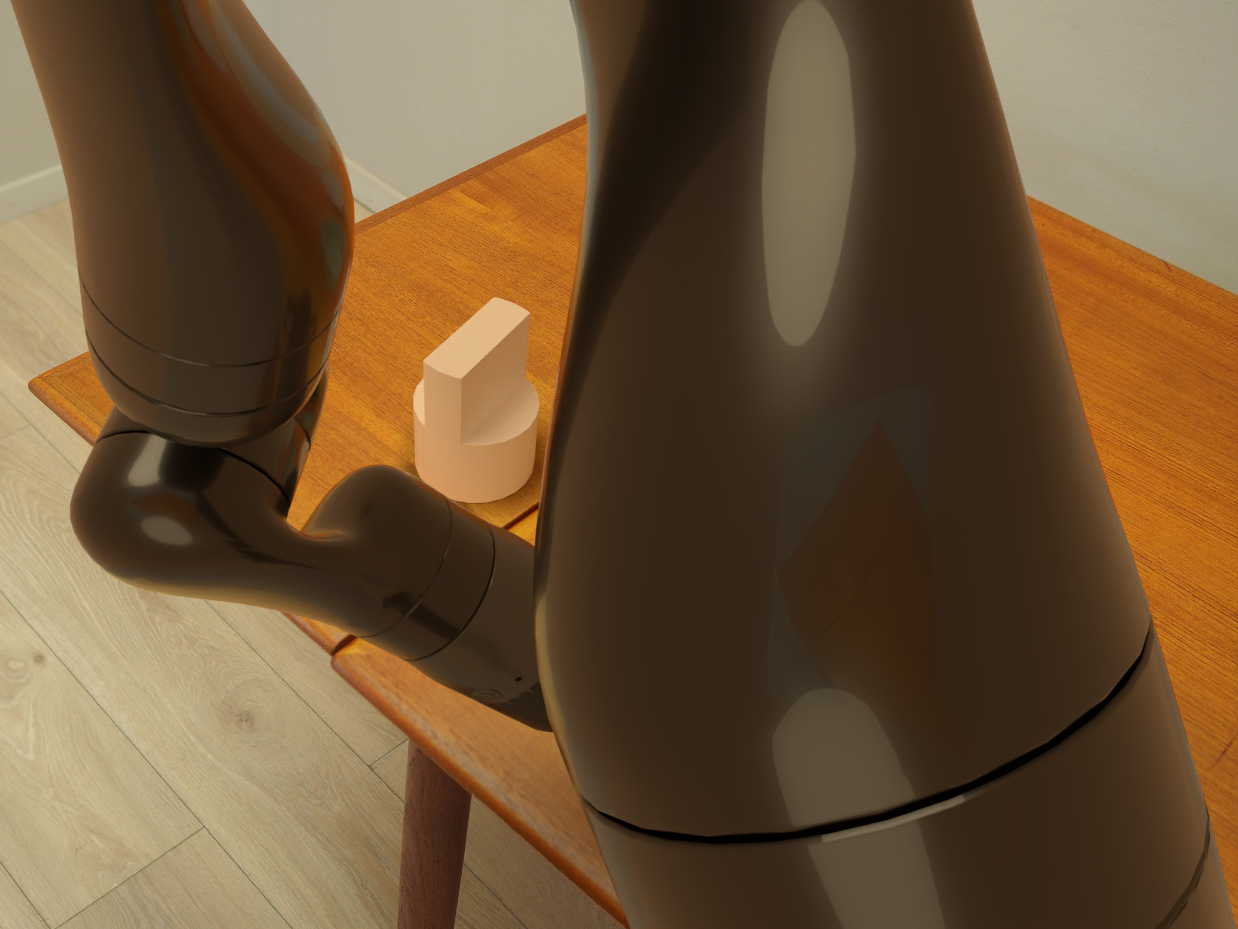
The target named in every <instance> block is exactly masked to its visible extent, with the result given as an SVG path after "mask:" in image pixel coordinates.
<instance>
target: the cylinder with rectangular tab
mask: <svg viewBox="0 0 1238 929" xmlns="http://www.w3.org/2000/svg"><path fill="white" fill-rule="evenodd" d="M530 319H531V313H530V311H528V310H527V309H526V308H523V307H522V306H520V305H518V304H516V303H514V302H512V301H509V300H506V299H503V298H500V297H495V296H494V297H492V298H491V299H490V300H489V301H488V302H487V303H485V305H483V306H482V307H481V308H480V309H479V310H478V311H476V313H475V314H473V315H472V316H471V317H470V318H469V319H468V320H467V321H465V322H464V323H463V324H462V325H461V326H460V327H459V328H458V329H456V331H454V332H453V333H452V334H451V335H449V337H448V338H447V339H446V340H444V341H443V342H442V343H441V344H440V345H438V347H437V348H435V349H434V350H433V351H432V352H431V353H429V355H428V356H427V357H426V358H424V360H422V363H423V364H422V366H423V378H422V379H421V380H420V382H418V384H417V385H416V388H415V390H414V393H413V396H412V402H413V404H412V405H413V434H414V435H413V436H414V464H415V465H414V467H415V469H416V471H417V474H418V476H419V479H420V480H422V481H423V482H425V483H427V484H428V485H430V486H431V487H433V488H435V489H436V490H437V491H439V492H440V493H442V494H443V495H445V496H446V497H448V498H450V499H451V500H453V501H454V502H461V503H468V504H480V503H481V504H483V503H484V504H485V503H492V502H495V501H498V500H503V499H505V498H507V497H509V496H512V495H514V494H515V493H517V492H518V491H519V490H520V489H521V488H522V487H523V486H525V485H526V484H527V482H528V480H529V479H530V477H531V476H532V474H533V470H534V466H535V463H536V462H535V460H536V448H537V437H538V436H537V435H538V425H539V415H540V414H539V413H540V401H539V394H538V392H537V390H536V388H535V387H534V385H533V383H532V382H531V381H530V380H529V379H528V378H527V377H526V375H527V360H528V347H529V333H530Z"/></svg>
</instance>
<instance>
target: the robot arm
mask: <svg viewBox="0 0 1238 929" xmlns="http://www.w3.org/2000/svg"><path fill="white" fill-rule="evenodd" d="M9 1H10V3H11V7H12V10H13V13H14V15H15V19H16V22H17V25H18V28H19V31H20V35H21V37H22V40H23V44H24V46H25V48H26V52H27V56H28V59H29V61H30V64H31V68H32V70H33V73H34V76H35V80H36V83H37V85H38V88H39V91H40V94H41V97H42V101H43V104H44V107H45V111H46V114H47V117H48V121H49V124H50V128H51V130H52V134H53V136H54V141H55V144H56V147H57V152H58V156H59V159H60V165H61V168H62V172H63V176H64V180H65V184H66V190H67V196H68V200H69V206H70V212H71V221H72V232H73V239H74V249H75V260H76V266H77V275H78V283H79V284H78V285H79V292H80V301H81V310H82V319H83V326H84V335H85V339H86V344H87V348H88V353H89V356H90V357H89V358H90V360H91V363H92V366H93V369H94V371H95V374H96V376H97V378H98V380H99V382H100V384H101V387H102V388H103V389H104V391H105V393H106V394H107V396H108V398H109V399H110V400H111V401H112V402H113V404H112V406H111V407H110V410H109V412H108V414H107V416H106V418H105V421H104V422H103V425H102V427H101V429H100V431H99V434H98V436H97V437H96V440H95V442H94V446H92V448H91V451H90V452H89V455H88V457H87V458H86V460H85V463H84V465H83V467H82V469H81V471H80V474H79V476H78V478H77V481H76V483H75V485H74V487H73V491H72V495H71V499H70V502H69V520H70V523H71V527H72V530H73V532H74V535H75V537H76V539H77V540H78V542H79V544H80V546H81V547H82V549H83V550H84V551H85V553H86V554H87V555H88V556H89V557H90V559H91V560H92V561H93V562H94V563H95V564H97V565H98V567H100V568H101V569H102V570H104V571H105V573H107V574H108V575H110V576H112V577H113V578H115V579H117V580H118V581H121V582H123V583H124V584H126V585H129V586H132V587H134V588H137V589H141V590H143V591H147V592H152V593H158V594H162V595H167V596H173V597H181V598H188V599H189V598H190V599H197V600H206V601H214V602H224V603H232V604H238V605H244V606H251V607H257V608H261V609H267V610H271V611H275V612H282V613H286V614H290V615H293V616H298V617H302V618H305V619H308V620H309V619H310V620H312V621H315V622H320V623H323V624H326V625H330V626H331V627H334V628H337V629H339V630H342V631H343V632H346V633H347V634H349V635H352V636H353V637H356V638H358V639H360V640H361V641H364V642H366V643H368V644H370V645H372V646H374V647H376V648H378V649H381V650H382V651H384V652H387V653H389V654H390V655H393V656H395V657H397V658H399V659H401V660H403V661H404V662H406V663H408V664H409V665H411V666H412V667H413V668H415V669H416V670H418V671H419V672H420V673H422V674H423V675H425V676H426V677H427V678H429V679H431V680H432V681H434V682H435V683H437V684H439V685H441V686H443V687H445V688H447V689H450V690H452V691H453V692H456V693H458V694H460V695H462V696H464V697H466V698H468V699H470V700H473V701H474V702H477V703H478V704H480V705H483V706H485V707H487V708H489V709H491V710H493V711H495V712H497V713H499V714H501V715H503V716H506V717H508V718H509V719H512V720H514V721H516V722H518V723H520V724H522V725H524V726H526V727H529V728H530V729H532V730H535V731H540V732H545V733H551V734H552V733H553V736H554V738H555V741H556V744H557V747H558V750H559V753H560V755H561V758H562V761H563V763H564V766H565V768H566V769H565V770H566V771H567V774H568V776H569V780H570V782H571V783H572V785H573V788H574V791H575V793H576V796H577V799H578V801H579V803H580V806H581V809H582V811H583V813H584V816H585V819H586V821H587V824H588V827H589V829H590V831H591V833H592V836H593V838H594V840H595V843H596V845H597V846H596V847H597V848H598V851H599V854H600V856H601V859H602V861H603V863H604V866H605V870H606V871H607V873H608V877H609V878H610V880H611V883H612V886H613V889H614V891H615V894H616V896H617V898H618V901H619V903H620V906H621V909H622V911H623V914H624V916H625V919H626V921H627V924H628V926H629V928H630V929H1237V925H1236V922H1235V918H1234V914H1233V908H1232V905H1231V901H1230V896H1229V892H1228V887H1227V882H1226V878H1225V874H1224V873H1225V872H1224V871H1223V870H1224V869H1223V864H1222V860H1221V856H1220V852H1219V848H1218V844H1217V841H1216V837H1215V832H1214V829H1213V825H1212V821H1211V817H1210V812H1209V810H1208V807H1207V802H1206V799H1205V795H1204V793H1203V792H1204V791H1203V787H1202V784H1201V779H1200V776H1199V773H1198V770H1197V766H1196V762H1195V759H1194V755H1193V753H1192V748H1191V745H1190V742H1189V739H1188V735H1187V731H1186V728H1185V725H1184V721H1183V718H1182V715H1181V711H1180V708H1179V707H1180V706H1179V705H1178V701H1177V697H1176V693H1175V690H1174V687H1173V683H1172V679H1171V676H1170V673H1169V670H1168V666H1167V663H1166V660H1165V655H1164V653H1163V649H1162V646H1161V641H1160V640H1159V639H1160V638H1159V636H1158V631H1157V628H1156V625H1155V622H1154V618H1153V614H1152V612H1151V610H1150V605H1149V599H1148V597H1147V594H1146V591H1145V588H1144V585H1143V582H1142V579H1141V576H1140V574H1139V570H1138V566H1137V563H1136V561H1135V557H1134V555H1133V551H1132V548H1131V546H1130V543H1129V539H1128V537H1127V535H1126V531H1125V529H1124V526H1123V524H1122V520H1121V518H1120V515H1119V512H1118V510H1117V506H1116V504H1115V501H1114V498H1113V496H1112V491H1111V490H1110V489H1111V488H1110V487H1109V484H1108V479H1107V477H1106V474H1105V470H1104V467H1103V465H1102V462H1101V459H1100V455H1099V452H1098V449H1097V446H1096V444H1095V441H1094V440H1095V439H1094V437H1093V434H1092V432H1091V428H1090V425H1089V422H1088V418H1087V415H1086V412H1085V408H1084V404H1083V401H1082V398H1081V394H1080V391H1079V386H1078V382H1077V380H1076V376H1075V372H1074V369H1073V364H1072V361H1071V358H1070V354H1069V350H1068V347H1067V344H1066V339H1065V336H1064V332H1063V329H1062V324H1061V321H1060V318H1059V314H1058V311H1057V307H1056V302H1055V299H1054V296H1053V292H1052V287H1051V285H1050V280H1049V277H1048V276H1049V275H1048V274H1047V270H1046V265H1045V262H1044V256H1043V253H1042V249H1041V245H1040V241H1039V237H1038V232H1037V228H1036V224H1035V221H1034V218H1033V214H1032V210H1031V207H1030V203H1029V199H1028V196H1027V193H1026V189H1025V186H1024V181H1023V177H1022V174H1021V170H1020V168H1019V163H1018V160H1017V157H1016V152H1015V148H1014V146H1013V141H1012V138H1011V134H1010V130H1009V126H1008V123H1007V120H1006V115H1005V112H1004V109H1003V105H1002V101H1001V98H1000V95H999V91H998V87H997V84H996V81H995V77H994V74H993V70H992V67H991V63H990V58H989V55H988V53H987V49H986V45H985V42H984V38H983V35H982V32H981V29H980V25H979V21H978V18H977V14H976V10H975V7H974V3H973V0H568V1H569V6H570V9H571V14H572V17H573V21H574V25H575V30H576V36H577V42H578V50H579V55H580V63H581V70H582V75H583V76H582V77H583V85H584V99H585V100H584V102H585V114H586V127H587V132H586V134H587V135H586V159H585V160H586V161H585V186H584V196H583V202H582V203H583V204H582V213H581V220H580V228H579V229H580V230H579V237H578V246H577V255H576V264H575V271H574V275H573V276H574V277H573V282H572V288H571V294H570V300H569V304H568V311H567V317H566V323H565V329H564V333H563V340H562V344H561V352H560V356H559V363H558V369H557V374H556V380H555V387H554V394H553V399H552V406H551V412H550V416H549V417H550V418H549V423H548V424H549V425H548V430H547V436H546V441H545V442H546V443H545V449H544V456H543V457H544V459H543V465H542V475H541V484H540V490H539V491H540V492H539V500H538V506H537V516H536V526H535V536H534V544H532V543H531V542H529V541H528V540H526V539H525V538H522V536H519V535H518V534H516V533H514V532H512V531H509V530H508V529H506V528H503V527H500V526H498V525H495V524H493V523H492V522H489V521H487V520H485V519H483V518H482V517H479V516H478V515H476V514H475V513H473V512H472V511H470V510H468V509H467V508H465V507H464V506H462V505H461V504H459V503H458V502H457V501H455V500H452V499H450V498H448V497H446V496H445V495H443V494H442V493H440V492H439V491H437V490H436V489H435V488H433V487H431V486H430V485H428V484H427V483H425V482H424V481H423V480H422V479H421V478H418V477H417V476H415V475H413V474H412V473H409V472H408V471H406V470H403V469H401V468H399V467H395V466H393V465H388V464H369V465H365V466H361V467H359V468H357V469H355V470H353V471H351V472H349V473H348V474H347V475H345V476H344V477H342V478H341V479H340V480H339V481H338V482H336V483H335V484H334V485H333V486H332V487H331V488H330V489H329V490H328V492H327V493H325V495H324V496H323V497H322V499H321V500H320V502H318V504H317V505H316V506H315V508H314V509H313V511H312V513H311V514H310V515H309V517H308V518H307V520H306V521H305V522H304V524H303V526H302V528H301V529H300V530H299V529H297V528H296V527H295V526H293V525H292V524H291V523H289V522H288V521H287V520H288V517H289V512H290V509H291V506H292V504H293V501H294V497H295V495H296V492H297V489H298V486H299V483H300V480H301V478H302V475H303V472H304V469H305V467H306V466H305V465H306V463H307V460H308V457H309V453H310V451H311V449H312V445H313V442H314V440H315V436H316V433H317V430H318V427H319V424H320V420H321V417H322V414H323V409H324V404H325V400H326V397H327V392H328V386H329V379H330V354H331V351H332V349H333V345H334V341H335V337H336V334H337V333H336V332H337V329H338V325H339V320H340V316H341V313H342V308H343V303H344V301H345V295H346V291H347V288H348V283H349V279H350V276H351V275H350V274H351V270H352V265H353V261H354V260H353V259H354V251H355V245H356V244H355V243H356V217H355V216H356V215H355V214H356V212H355V199H354V194H353V189H352V182H351V180H350V176H349V171H348V168H347V164H346V161H345V158H344V155H343V153H342V150H341V147H340V145H339V143H338V141H337V139H336V137H335V135H334V133H333V131H332V129H331V127H330V125H329V122H328V120H327V119H326V117H325V115H324V113H323V111H322V109H321V108H320V107H319V105H318V103H317V101H316V100H315V99H314V97H313V96H312V94H311V93H310V91H309V90H308V89H307V87H306V86H305V84H304V83H303V81H302V79H301V78H300V76H299V75H298V74H297V73H296V72H295V69H293V67H292V66H291V64H289V62H288V61H287V60H286V58H285V57H284V56H283V54H282V53H281V51H279V49H278V48H277V47H276V45H275V44H274V42H273V41H272V40H271V39H270V37H269V36H268V34H267V33H266V32H265V30H264V29H263V27H262V26H261V24H260V23H259V22H258V21H257V18H255V16H254V15H253V13H252V12H251V11H250V9H249V8H248V6H247V4H246V3H245V2H244V1H243V0H9Z"/></svg>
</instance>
